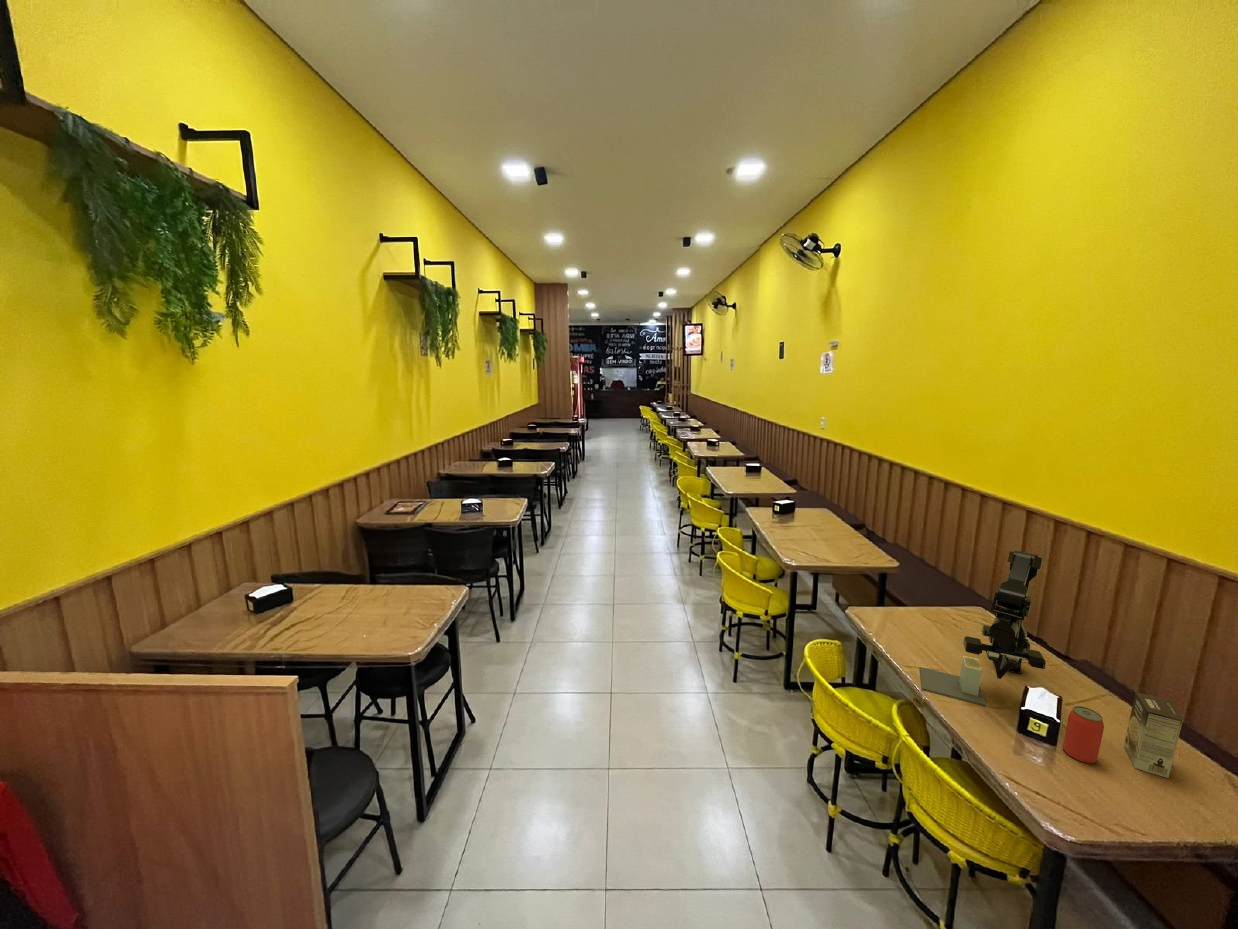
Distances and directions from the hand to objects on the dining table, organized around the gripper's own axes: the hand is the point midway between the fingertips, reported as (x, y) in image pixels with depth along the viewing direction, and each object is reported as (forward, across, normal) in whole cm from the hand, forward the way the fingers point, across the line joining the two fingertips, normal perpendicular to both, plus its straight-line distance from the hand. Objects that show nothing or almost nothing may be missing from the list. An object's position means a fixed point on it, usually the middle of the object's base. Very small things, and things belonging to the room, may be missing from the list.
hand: (998, 678), depth 148 cm
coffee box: (+7, -29, +13) cm, 32 cm away
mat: (+6, +11, 0) cm, 13 cm away
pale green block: (+6, +7, 0) cm, 9 cm away
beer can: (+7, -15, +18) cm, 24 cm away
